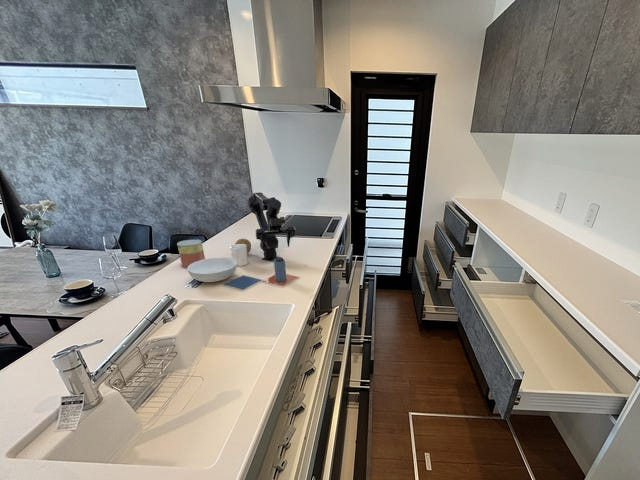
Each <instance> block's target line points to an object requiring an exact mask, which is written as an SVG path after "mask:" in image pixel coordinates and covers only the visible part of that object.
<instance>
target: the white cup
mask: <svg viewBox="0 0 640 480" xmlns="http://www.w3.org/2000/svg"><path fill="white" fill-rule="evenodd" d="M229 248H230V252H231V256H232V259H233V260H235V261H236V267H241V266H246V265H248V254H247V247H246V245H245V244H235V243H234V244H231V245H230V246H229Z"/></svg>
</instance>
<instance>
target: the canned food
mask: <svg viewBox="0 0 640 480" xmlns="http://www.w3.org/2000/svg"><path fill="white" fill-rule="evenodd" d="M176 246H177V250H178V253H179V259H180V262H181V267H182V268H185V269H187V268H188V266H189V265H190V264H192V263H194V262H196V261H200V260H203V259H206V256H205V252H204V247H203V240H201V239H196V238H195V239H193V238H192V239H184V240H181V241H180V240H179V241H178V242H177V243H176Z"/></svg>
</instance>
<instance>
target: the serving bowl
mask: <svg viewBox="0 0 640 480" xmlns="http://www.w3.org/2000/svg"><path fill="white" fill-rule="evenodd" d="M186 269H187V272H188V275H190V277H191V278H193V280H196V281H198V282H203V283H214V282H221V281H224V280H226V279H228V278H230V277H231V276H233V275H234V273H235V272H236V270H237V266H236V261H235V260H233V258H230V257H209V258H205V259H203V260H200V261H196V262H194V263H192V264H190V265H189V266H188V268H186Z"/></svg>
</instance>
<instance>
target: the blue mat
mask: <svg viewBox="0 0 640 480" xmlns="http://www.w3.org/2000/svg"><path fill="white" fill-rule="evenodd" d="M261 281H262V279H260V278H257V277H256V278H255V277H252V276H247V275H241V276H239V277H237V278H234V279H231V280H230V281H228V282H225V283H223V284H222V285H223V286H228V287H231V288H235V289H239V290H246V289H247V288H249V287H251V286H253V285H255V284H258V283H260V282H261Z"/></svg>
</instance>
